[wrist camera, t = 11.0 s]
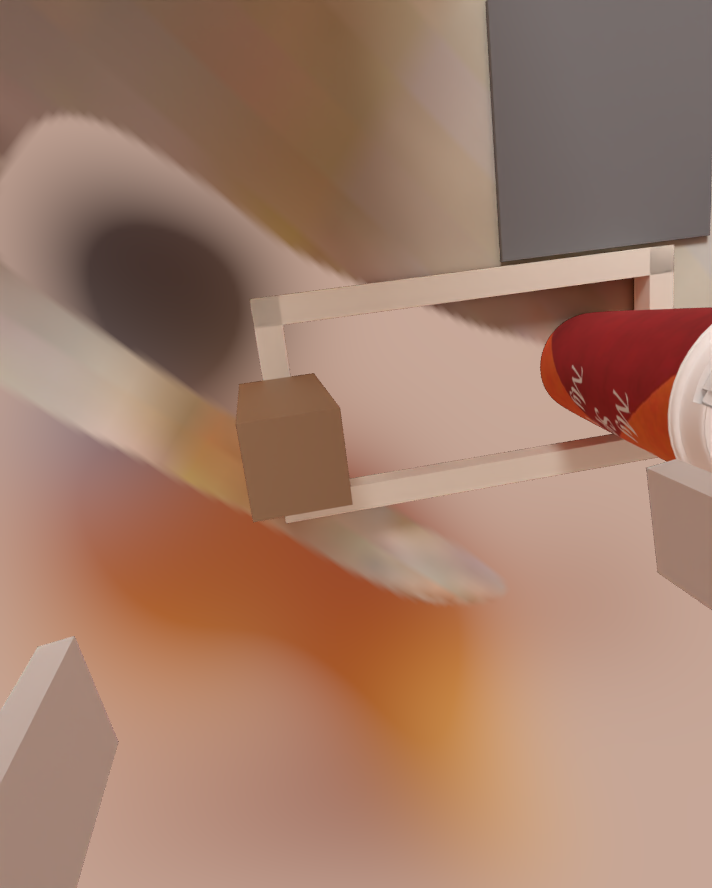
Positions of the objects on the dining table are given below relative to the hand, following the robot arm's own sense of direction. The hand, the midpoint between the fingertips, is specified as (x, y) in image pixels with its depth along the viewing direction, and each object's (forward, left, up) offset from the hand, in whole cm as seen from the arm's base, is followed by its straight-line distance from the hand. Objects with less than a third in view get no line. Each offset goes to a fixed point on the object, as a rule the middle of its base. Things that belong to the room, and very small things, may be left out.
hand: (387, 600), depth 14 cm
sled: (+10, 0, -23) cm, 25 cm away
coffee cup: (+18, 0, -23) cm, 29 cm away
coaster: (+19, +13, -23) cm, 32 cm away
